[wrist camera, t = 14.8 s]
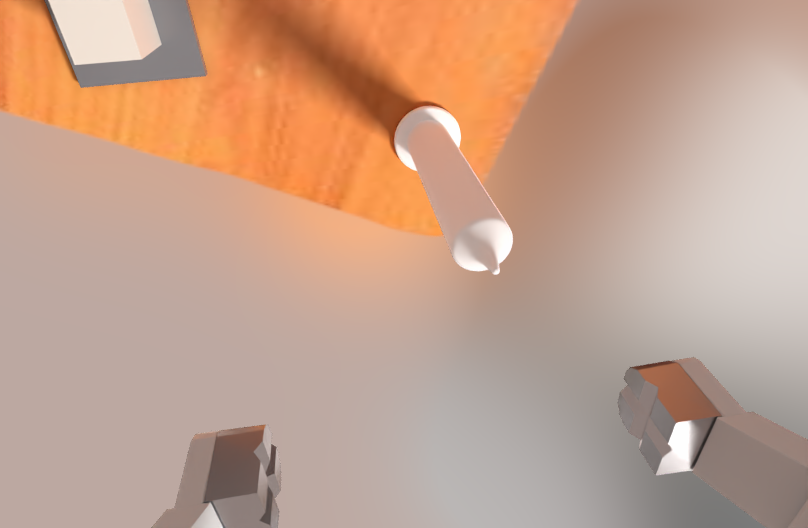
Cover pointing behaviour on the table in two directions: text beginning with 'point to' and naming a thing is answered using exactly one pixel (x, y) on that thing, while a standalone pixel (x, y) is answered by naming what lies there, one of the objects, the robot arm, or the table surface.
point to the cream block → (106, 29)
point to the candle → (453, 189)
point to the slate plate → (163, 63)
